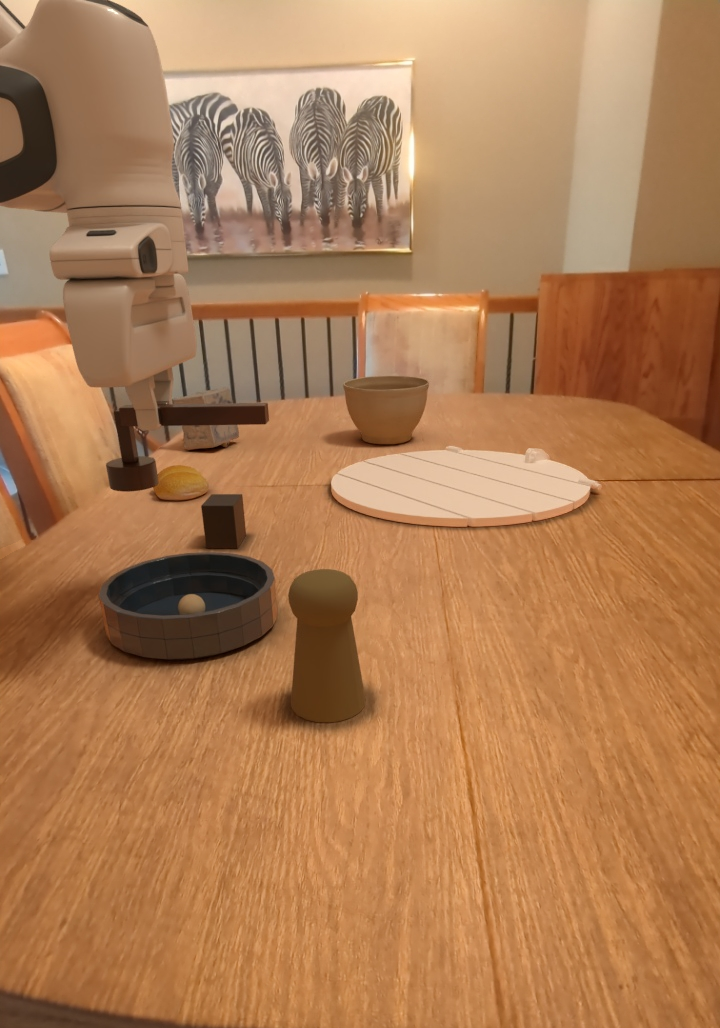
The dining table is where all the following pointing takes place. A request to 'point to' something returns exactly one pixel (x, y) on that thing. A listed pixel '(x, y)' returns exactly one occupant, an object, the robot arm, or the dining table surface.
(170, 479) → the bread roll
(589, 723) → the dining table surface
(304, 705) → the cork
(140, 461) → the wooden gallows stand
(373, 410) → the planter bowl
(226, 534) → the dark brown upright block
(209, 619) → the bowl
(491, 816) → the dining table surface
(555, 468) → the lazy susan
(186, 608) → the dough ball
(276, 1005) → the dining table surface
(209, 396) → the incense holder
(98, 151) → the robot arm
